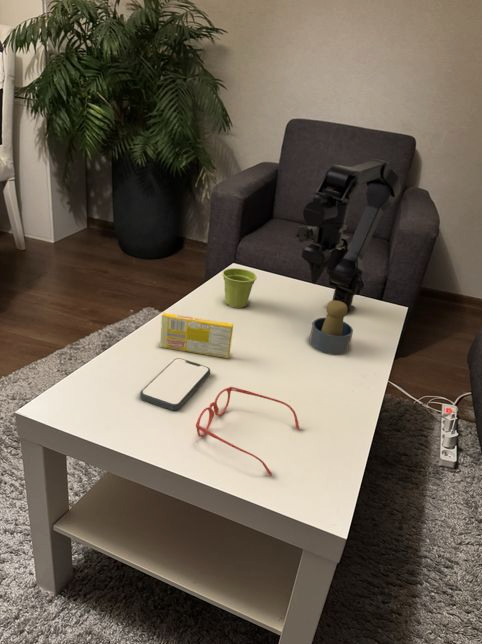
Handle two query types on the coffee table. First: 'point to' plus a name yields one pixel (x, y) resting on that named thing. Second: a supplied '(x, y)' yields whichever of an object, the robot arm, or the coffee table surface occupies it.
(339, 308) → the brown cylinder with knob
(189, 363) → the smartphone
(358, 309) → the coffee table surface
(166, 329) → the candy box
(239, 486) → the coffee table surface
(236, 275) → the plant pot
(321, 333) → the blue-grey round bowl
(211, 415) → the red eyeglasses
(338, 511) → the coffee table surface
